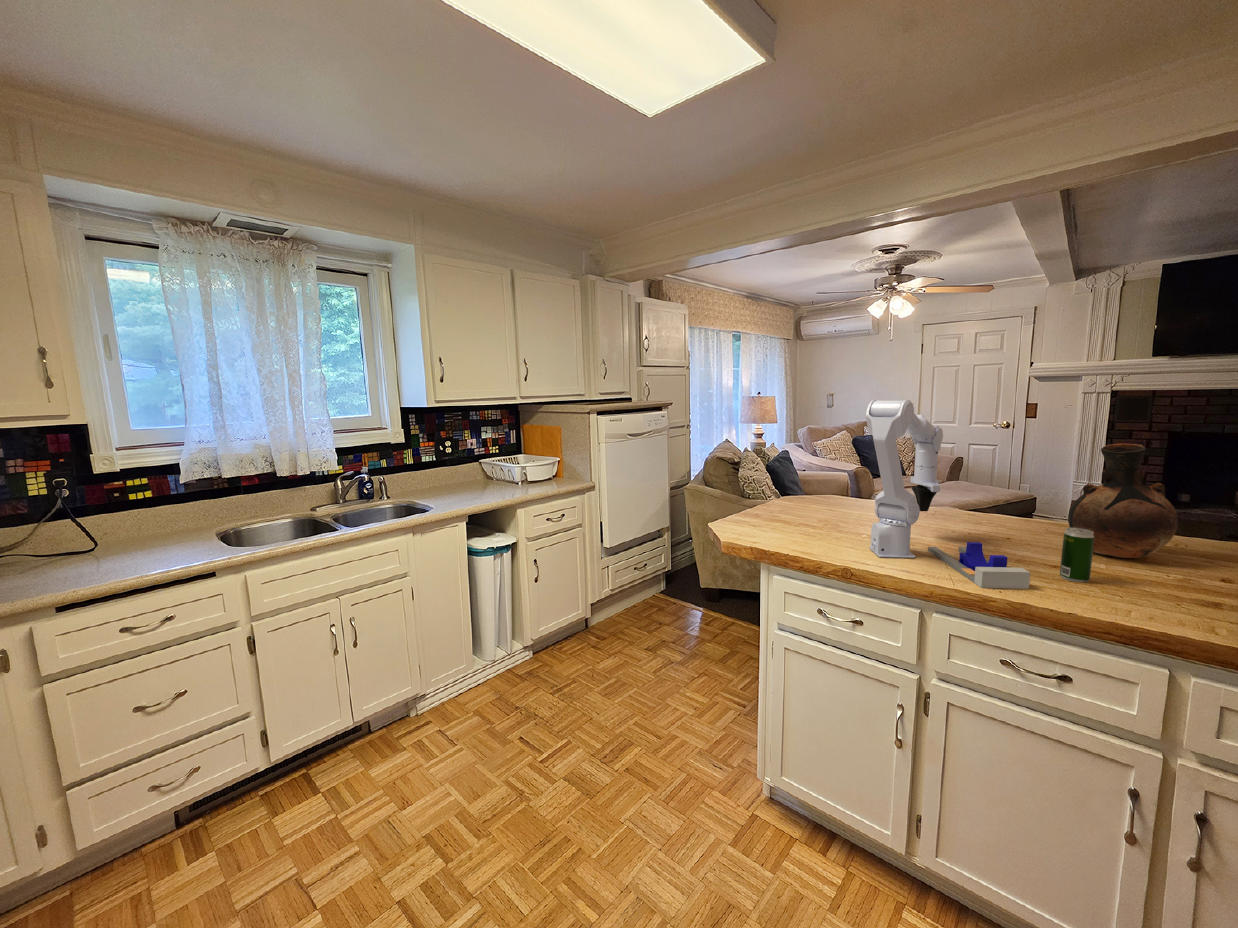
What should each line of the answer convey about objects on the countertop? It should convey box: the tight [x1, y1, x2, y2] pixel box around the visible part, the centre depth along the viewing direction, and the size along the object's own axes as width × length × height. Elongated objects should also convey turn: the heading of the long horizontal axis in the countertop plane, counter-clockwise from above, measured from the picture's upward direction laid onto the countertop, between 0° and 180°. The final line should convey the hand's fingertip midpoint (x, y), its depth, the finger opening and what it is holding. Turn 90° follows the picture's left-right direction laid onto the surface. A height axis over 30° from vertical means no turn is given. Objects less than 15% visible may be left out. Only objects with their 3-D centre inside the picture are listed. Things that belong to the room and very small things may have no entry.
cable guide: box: [927, 546, 1031, 590], centre depth 129 cm, size 10×27×4 cm, turn 172°
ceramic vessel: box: [1067, 442, 1179, 559], centre depth 133 cm, size 21×18×30 cm
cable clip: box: [958, 541, 1008, 571], centre depth 127 cm, size 12×4×6 cm, turn 172°
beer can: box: [1059, 527, 1095, 583], centre depth 120 cm, size 5×5×12 cm
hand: (923, 510), depth 151 cm, fingers closed
